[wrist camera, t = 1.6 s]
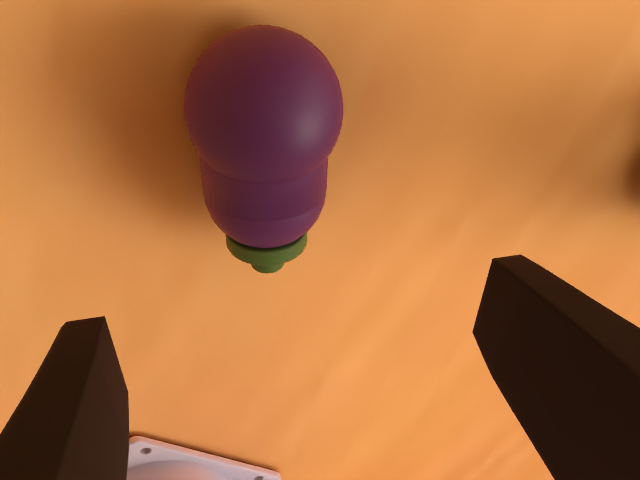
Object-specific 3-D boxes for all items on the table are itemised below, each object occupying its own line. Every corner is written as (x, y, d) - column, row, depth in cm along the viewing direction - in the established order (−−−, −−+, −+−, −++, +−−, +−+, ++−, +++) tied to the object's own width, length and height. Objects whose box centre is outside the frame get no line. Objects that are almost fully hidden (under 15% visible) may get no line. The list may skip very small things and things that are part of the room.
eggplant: (316, 225, 22) (348, 302, 18) (198, 238, 21) (208, 323, 17) (324, 4, 17) (371, 51, 13) (171, 8, 16) (177, 59, 12)
